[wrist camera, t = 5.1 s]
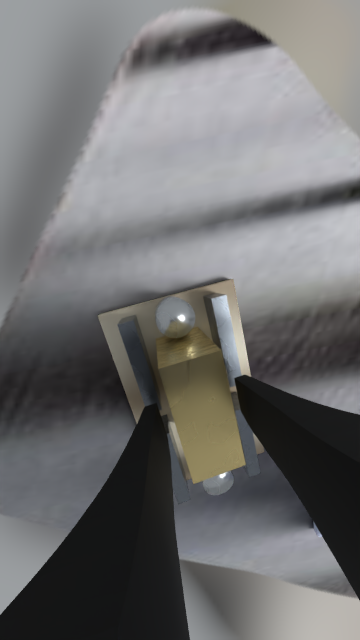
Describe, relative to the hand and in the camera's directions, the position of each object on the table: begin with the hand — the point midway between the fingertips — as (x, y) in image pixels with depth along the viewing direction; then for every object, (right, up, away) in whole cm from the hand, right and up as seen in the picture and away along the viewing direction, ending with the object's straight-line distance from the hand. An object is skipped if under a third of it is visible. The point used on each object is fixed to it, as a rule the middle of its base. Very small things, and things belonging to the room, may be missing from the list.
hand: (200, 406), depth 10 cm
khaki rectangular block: (0, +1, +2) cm, 3 cm away
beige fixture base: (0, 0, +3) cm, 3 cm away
